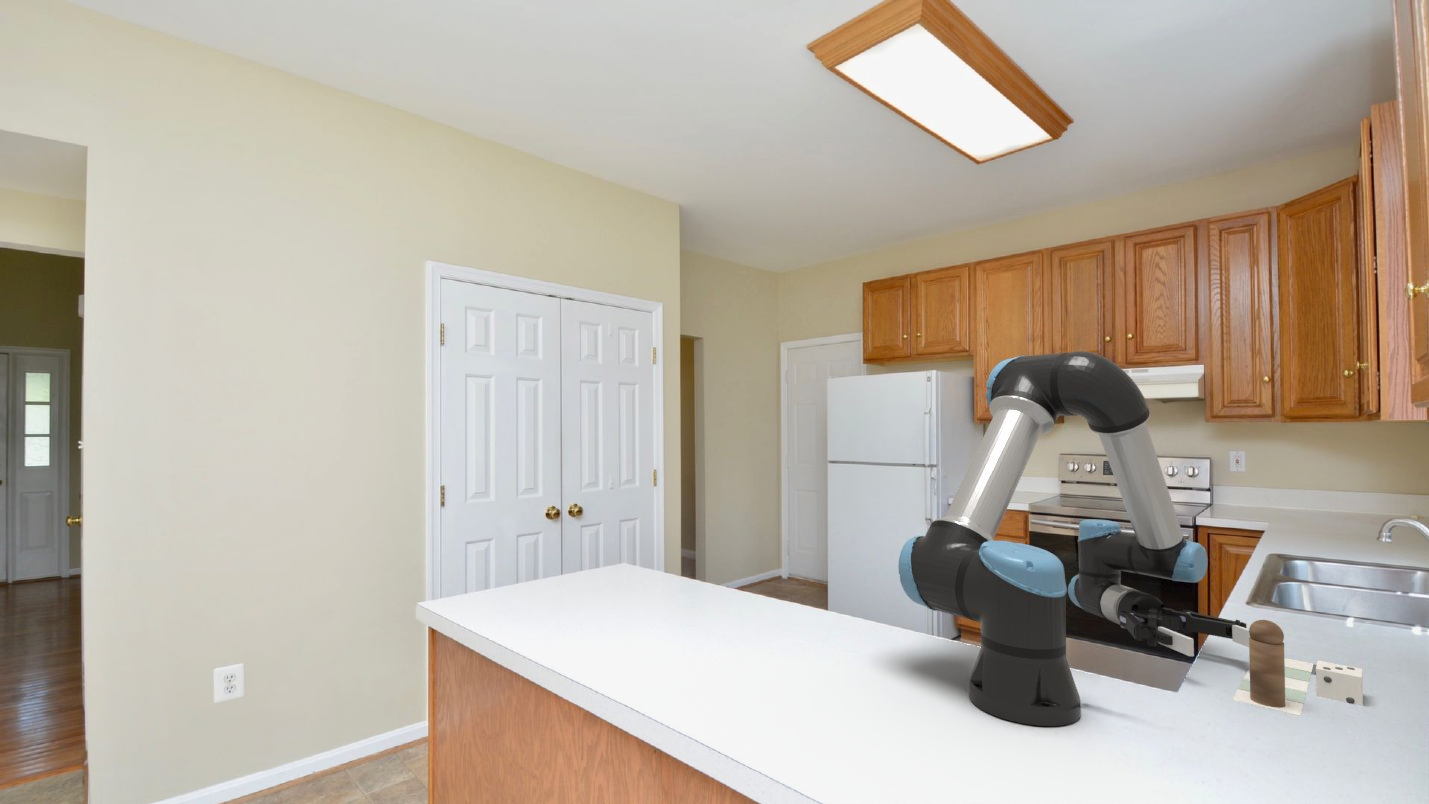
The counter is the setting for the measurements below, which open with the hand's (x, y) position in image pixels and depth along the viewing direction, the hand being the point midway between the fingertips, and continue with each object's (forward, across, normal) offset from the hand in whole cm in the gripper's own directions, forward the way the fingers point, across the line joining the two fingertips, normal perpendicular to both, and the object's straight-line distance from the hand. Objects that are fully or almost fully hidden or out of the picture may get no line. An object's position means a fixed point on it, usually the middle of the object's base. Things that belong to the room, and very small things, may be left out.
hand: (1231, 646), depth 104 cm
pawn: (+7, +1, -6) cm, 9 cm away
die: (+5, -13, -7) cm, 15 cm away
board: (-1, -9, -7) cm, 11 cm away
